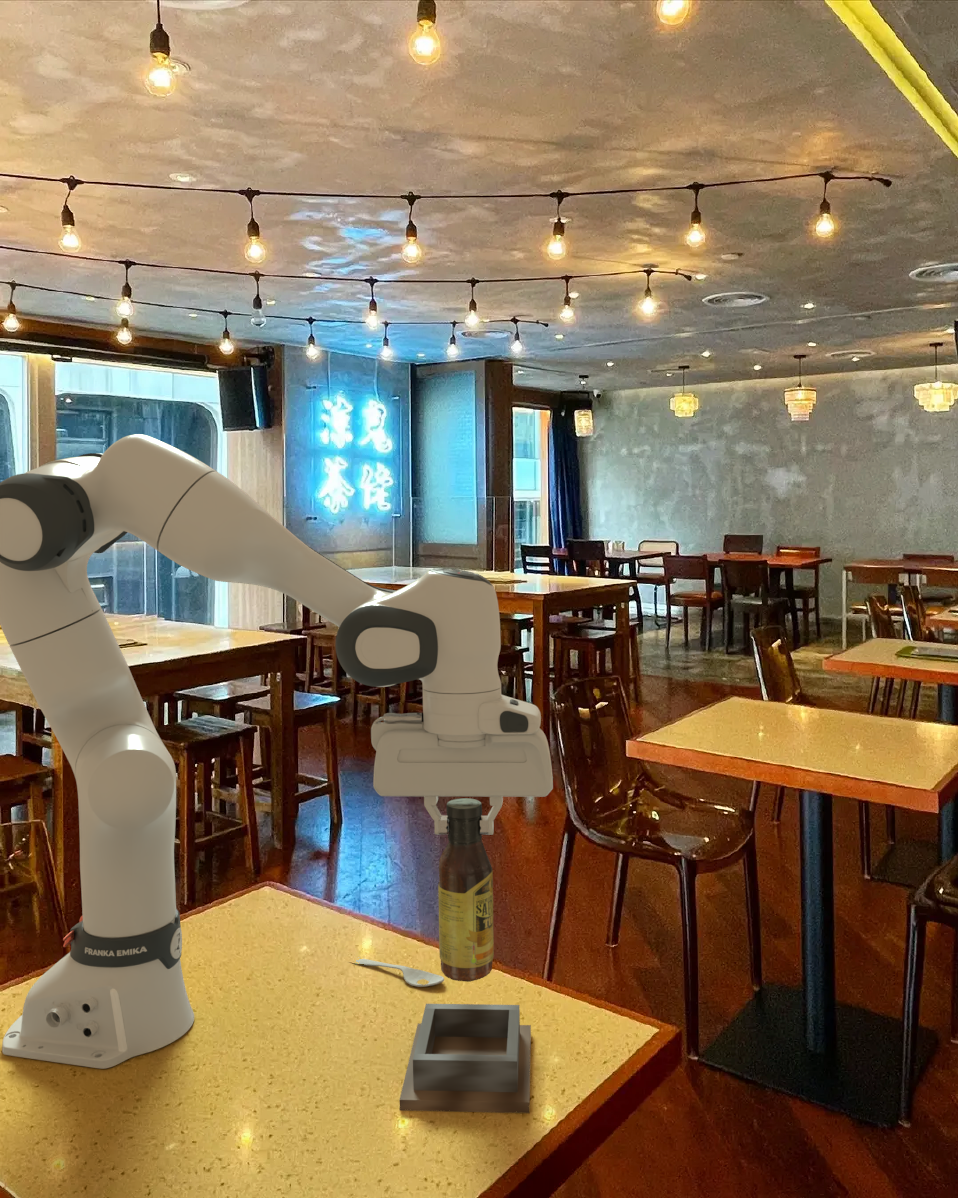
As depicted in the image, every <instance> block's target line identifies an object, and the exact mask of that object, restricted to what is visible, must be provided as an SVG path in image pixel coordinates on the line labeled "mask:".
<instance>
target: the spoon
mask: <svg viewBox="0 0 958 1198" xmlns="http://www.w3.org/2000/svg"><path fill="white" fill-rule="evenodd" d="M356 962H358V963H359V962H360V963H359V964H364V965H363V966H371V967H384V968H389V969H396V970H400V971H401V972H402V975H403V980H405V981H404V982H406V983H407V984H409V986H414V987H419V988H422V987H423V988H424V987H426V988H427V987H431V986H435V985H439V984H441V983H444V981H445V978H444V976H442V975H439V974H436V973H432V972H429V971H425V970H423V969H422V970H421V969H417V968H413V967H408V966H404V965H400V964H399V965H398V964H391V963H388V962H387V963H386V962H383V961H382V962H381V961H377V960H372V959H368V958H367V959H366V958H363V959H359V960H356ZM421 980H426V981H428V983H426V984H421V983H418V981H421Z"/></svg>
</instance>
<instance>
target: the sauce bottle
mask: <svg viewBox="0 0 958 1198" xmlns="http://www.w3.org/2000/svg"><path fill="white" fill-rule="evenodd" d="M446 816H448V827H449V828H448V830H449V831H448V834H447V839H448V840H447V841H448V843H447V844H446V846H445V848H444V849H443V850H442V853H441V855H440V857H439V861H438V863H439V864H438V876H439V878H438V885H437V888H438V889H437V890H438V891H437V893H438V941H439V942H438V943H439V944H438V946H439V948H438V949H439V950H438V951H439V959H440V969H441V970H440V971H441V972H442V974H443V975H444V976H445V977H446V978H448V979H450V980H452V981H457V982H468V983H469V982H470V983H471V982H474V981H478V980H482V979H484V978H485V977H488V975H489V974H490V973H491V972H492V969H493V959H494V957H495V956H494V951H495V950H494V894H493V893H494V886H493V885H494V880H493V875H494V874H493V873H494V872H493V868H492V864H491V862H490V858H489V857H488V854H487V851H486V848H485V846H484V843H483V840H482V838H483V835H480V828H481V827H480V817H481V816H483V805H482V802H481V801H480V800H478V799H474V798H468V797H467V798H466V797H464V798H455V799H451V800H449V801H447V803H446Z"/></svg>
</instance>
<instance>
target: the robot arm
mask: <svg viewBox="0 0 958 1198" xmlns="http://www.w3.org/2000/svg"><path fill="white" fill-rule="evenodd" d="M128 533H129V534H131V535H133V536H135V537H136V538H138V539H140V540H141V541H142V542H144V543H145V544H147V545H148V546H150V547H151V548H152V549H154V550H156V551H157V552H159V553H160V554H161V555H163V556H165V557H166V558H167V559H169V560H171V561H173V562H174V563H176V564H177V565H179V566H180V567H183V568H184V569H187V570H189V571H191V572H193V573H195V574H197V575H200V576H203V577H204V578H208V579H210V580H213V581H216V582H223V583H224V582H225V583H233V584H235V583H237V584H244V585H245V584H246V585H253V586H260V587H265V588H268V589H271V590H274V591H277V592H280V593H282V594H284V595H286V596H288V597H289V598H291V599H294V600H295V601H296V602H298V603H300V604H301V605H303V606H304V607H306V608H308V609H309V610H311V611H313V612H314V613H316V614H317V615H318V616H321V617H322V618H324V619H326V620H327V621H329V622H330V623H331V624H334V625H335V626H337V627H338V629H337V633H336V635H335V636H336V637H335V653H336V657H337V660H338V663H339V664H340V666H341V667H342V669H343V670H344V672H345V673H346V674H347V676H349V677H350V678H351V679H352V680H354V681H355V682H357V683H359V684H362V685H364V686H369V687H377V688H385V687H391V686H394V685H397V684H403V683H407V682H412V681H415V680H420V681H421V683H422V684H421V685H422V712H407V713H406V712H405V713H396V712H387V713H383V716H380V717H378V718H376V719H375V720H374V721H373V723H372V725H371V728H370V739H371V741H370V742H371V745H372V747H373V749H374V750H375V751H376V752H375V757H374V765H373V781H372V782H373V783H372V784H373V789H374V791H375V792H376V793H377V794H378V795H379V796H380V797H423V805H424V808H425V809H426V811H427V812H428V814H429V816H430V817H431V819H432V820H433V821H434V823H433V825H434V835H448V834H449V832H448V831H449V830H448V828H449V827H448V816H447V814H446V815H443V814H441V812H440V810H439V808H438V806H437V804H438V801H439V797H476V798H477V797H489V805H490V807H491V806H492V807H491V808H490V810H489V812H488V814H487V815H481V817H480V827H481V828H480V835H482V836H484V835H486V836H487V835H488V836H490V835H491V836H492V835H494V827H495V826H494V821H495V819H496V817H497V815H498V813H499V812H500V810H501V809H502V807H503V801H504V798H503V797H511V798H512V797H513V798H514V797H516V798H517V797H522V798H523V797H526V798H527V797H530V798H534V797H536V798H540V797H542V798H544V797H547V796H549V794H550V793H551V792H552V790H553V789H554V782H553V780H554V777H553V767H552V760H551V759H552V758H551V753H550V752H551V751H550V746H549V742H548V739H547V736H546V734H545V733H544V731H543V730H542V729H541V728H540V727H541V723H542V722H541V721H542V720H541V719H542V716H541V715H542V713H541V711H540V709H539V707H538V706H537V705H535V704H533V703H530V702H527V701H525V700H524V701H523V700H520V699H516V698H514V697H510V696H507V695H504V694H502V681H501V677H500V675H499V670H498V662H499V655H500V652H501V648H502V646H501V641H502V640H501V620H500V619H501V617H500V609H499V600H498V596H497V591H496V589H495V587H494V586H493V584H492V583H491V582H490V580H488V579H487V578H486V577H485V576H483V575H481V574H480V573H474V572H472V571H468V570H463V569H462V570H461V569H457V568H446V567H435V568H431V569H428V570H427V571H426V573H425V574H423V575H422V576H420V577H419V578H418V579H416V580H414V581H413V582H411V583H409V584H408V585H406V586H404V587H402V588H399V589H397V590H395V589H394V590H393V589H388V588H381V587H378V586H375V585H371V584H369V583H368V582H366V581H364V580H362V579H361V578H359V577H357V576H356V575H354V574H353V573H351V572H349V571H348V570H347V569H345V568H344V567H342V566H340V565H338V564H337V563H335V562H334V561H332V560H330V558H328V557H326V556H325V555H323V554H321V553H319V552H318V551H316V550H315V549H313V548H312V547H310V546H309V545H307V544H305V543H304V542H303V541H302V540H301V539H299V538H298V537H297V536H296V535H295V534H293V533H292V532H291V531H290V530H289V529H288V528H287V527H285V526H284V525H283V524H282V523H280V521H278V520H277V519H276V518H275V517H274V516H273V515H271V513H269V512H268V511H267V510H266V509H265V508H264V507H263V506H262V505H261V504H259V502H257V501H256V500H255V499H253V497H252V496H251V495H249V494H248V493H247V492H245V491H244V490H243V489H242V488H240V487H239V486H238V485H236V484H235V482H232V481H231V480H230V479H229V478H227V477H226V476H224V475H223V474H221V473H220V472H218V471H217V470H215V469H214V468H212V467H211V466H209V465H208V464H206V463H204V462H203V461H201V460H200V459H197V458H196V457H194V456H193V455H191V454H189V453H187V452H186V451H183V450H181V449H179V448H177V447H174V446H172V445H171V444H169V443H166V442H164V441H161V440H159V439H157V438H154V437H153V436H150V435H146V434H140V433H138V434H137V433H136V434H130V435H126V436H123V437H121V438H120V439H118V440H117V441H115V442H113V443H112V444H111V445H110V446H108V447H107V448H106V450H105V451H104V452H103V453H98V452H95V453H93V452H92V453H91V452H90V453H84V454H81V455H78V456H72V457H65V458H61V459H55V460H52V461H48V462H46V463H44V464H42V465H40V466H38V467H36V468H33V469H31V470H28V471H26V472H23V473H17V474H15V475H11V476H9V477H7V478H6V479H3V480H2V481H0V628H1V630H2V632H3V634H4V636H5V638H6V639H5V640H6V642H7V643H8V645H9V647H10V650H11V652H12V653H13V656H14V658H15V659H16V662H17V664H18V667H19V668H20V671H21V672H22V675H23V677H24V679H25V680H26V683H27V685H28V687H29V689H30V691H31V694H32V695H33V697H34V699H35V701H36V703H37V706H38V707H39V709H40V710H41V712H42V714H43V716H44V717H45V719H46V721H47V723H48V725H49V726H50V728H51V730H52V732H53V734H54V736H55V737H56V740H57V741H58V744H59V745H60V747H61V749H62V751H63V753H64V754H65V757H66V759H67V761H68V763H69V765H70V767H71V770H72V772H73V775H74V778H75V782H76V788H77V799H78V825H79V828H78V829H79V872H80V888H81V890H80V891H81V908H82V909H81V910H82V912H81V913H82V915H81V916H80V918H79V920H78V921H79V922H78V923H76V924H75V925H74V926H72V927H71V928H70V930H69V931H70V932H69V933H67V934H66V935H65V937H63V939H62V941H64V943H63V946H62V947H63V948H66V947H67V946H69V944H70V948H71V949H70V951H69V952H68V953H67V954H65V955H64V956H63V957H62V958H61V959H59V960H58V961H57V962H56V963H55V964H53V966H51V967H50V968H49V969H47V971H45V972H44V973H43V974H42V975H41V976H40V977H39V978H38V979H37V980H36V981H35V982H34V983H33V985H32V986H31V988H30V989H29V991H28V992H27V994H26V996H25V998H24V1003H23V1009H22V1015H20V1016H19V1017H18V1018H17V1019H16V1020H15V1021H14V1022H13V1023H12V1024H11V1025H10V1027H9V1028H8V1030H7V1031H6V1033H5V1034H4V1036H3V1039H2V1054H3V1055H5V1056H12V1057H18V1058H25V1059H32V1060H39V1061H45V1062H46V1061H47V1062H52V1063H58V1064H59V1063H60V1064H67V1065H74V1066H80V1067H87V1068H92V1069H93V1068H95V1069H104V1070H105V1069H110V1068H112V1067H115V1066H116V1065H119V1064H121V1063H122V1062H125V1061H127V1060H128V1059H131V1058H134V1057H137V1056H140V1055H143V1054H148V1053H150V1052H154V1051H155V1050H156V1051H157V1050H159V1049H161V1048H163V1047H165V1046H167V1045H169V1044H171V1043H173V1042H175V1041H176V1040H178V1039H180V1038H181V1037H182V1036H184V1035H185V1034H187V1032H188V1031H189V1030H190V1029H191V1027H192V1026H193V1023H194V1021H195V1013H194V1011H193V1008H192V1005H191V1002H190V1000H189V997H188V996H189V995H188V993H187V990H186V989H187V988H186V985H185V980H184V975H183V969H182V963H181V957H182V950H183V934H182V927H181V916H180V915H181V914H180V911H179V910H178V909H177V901H176V900H177V899H176V877H175V876H176V875H175V873H176V872H175V840H176V839H175V838H176V837H175V836H176V818H177V817H176V815H177V814H176V813H177V771H176V770H177V769H176V765H175V762H174V759H173V757H172V755H171V754H170V752H169V751H168V749H167V747H166V745H165V744H164V742H163V740H162V738H161V737H160V735H159V733H158V731H157V730H156V727H155V725H154V723H153V721H152V718H151V716H150V714H149V711H148V710H147V708H146V705H145V703H144V701H143V698H142V696H141V694H140V691H139V689H138V687H137V683H136V681H135V680H134V679H135V678H134V677H133V675H132V672H131V670H130V667H129V665H128V662H127V661H126V659H125V656H124V654H123V652H122V650H121V647H120V645H119V643H118V642H117V639H116V636H115V634H114V632H113V630H112V628H111V626H110V624H109V621H108V619H107V617H106V615H105V612H104V610H103V609H102V606H101V604H100V601H99V600H98V598H97V596H96V593H95V592H94V590H93V588H92V586H91V582H90V580H89V576H88V571H87V570H88V564H89V563H88V562H89V560H90V558H91V556H92V555H93V554H103V553H104V552H106V551H107V550H108V549H109V548H111V547H112V546H113V545H114V544H116V542H118V541H119V540H120V539H122V538H123V537H124V536H126V535H127V534H128ZM381 721H383V722H381Z"/></svg>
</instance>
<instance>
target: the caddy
mask: <svg viewBox="0 0 958 1198" xmlns="http://www.w3.org/2000/svg"><path fill="white" fill-rule="evenodd" d="M424 1007H425V1008H424V1010H423V1014H422V1019H421V1022H420V1023H417V1025H416V1030H415V1034H414V1038H413V1042H412V1046H411V1050H410V1055H409V1057H408V1058H409V1059H408V1063H407V1066H406V1071H405V1074H404V1075H405V1076H404V1079H403V1084H402V1087H401V1088H402V1089H401V1091H400V1097H399V1099H398V1100H399V1111H409V1112H411V1111H414V1112H458V1113H459V1112H460V1113H462V1112H464V1113H467V1112H468V1113H500V1114H501V1113H507V1114H508V1113H511V1114H512V1113H513V1114H517V1113H518V1114H530V1109H531V1108H530V1106H531V1105H530V1101H531V1053H532V1052H531V1051H532V1050H531V1040H532V1039H531V1038H532V1029H531V1028H532V1027H531V1024H521V1020H520V1019H521V1018H520V1014H521V1013H520V1004H487V1003H486V1004H478V1003H477V1004H476V1003H475V1004H473V1003H470V1004H469V1003H466V1004H465V1003H425V1006H424Z"/></svg>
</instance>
